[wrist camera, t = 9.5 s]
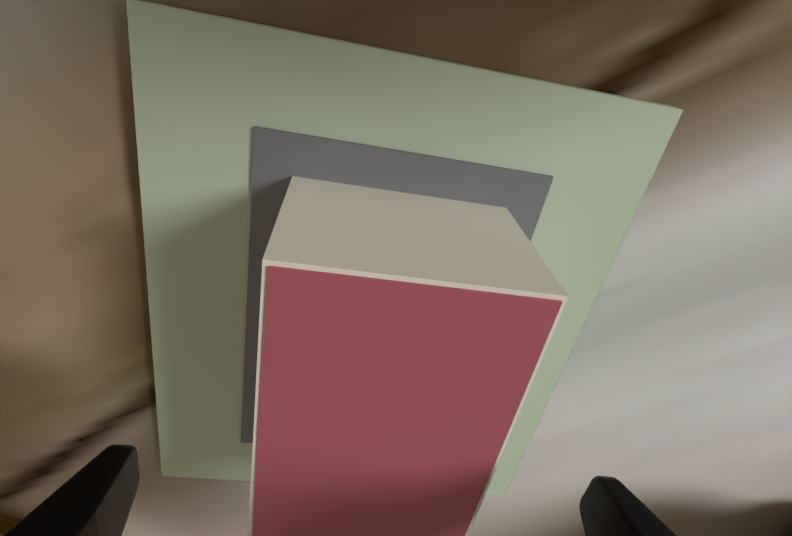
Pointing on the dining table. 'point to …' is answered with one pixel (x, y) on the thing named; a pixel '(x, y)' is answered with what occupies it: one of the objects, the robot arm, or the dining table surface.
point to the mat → (356, 165)
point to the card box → (390, 360)
